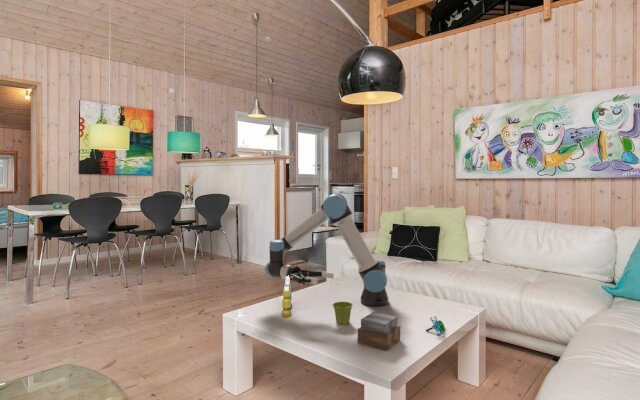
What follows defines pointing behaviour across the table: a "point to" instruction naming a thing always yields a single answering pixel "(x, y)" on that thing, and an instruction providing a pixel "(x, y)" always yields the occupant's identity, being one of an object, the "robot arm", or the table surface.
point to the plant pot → (342, 312)
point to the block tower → (379, 331)
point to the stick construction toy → (438, 326)
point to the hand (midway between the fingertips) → (325, 278)
